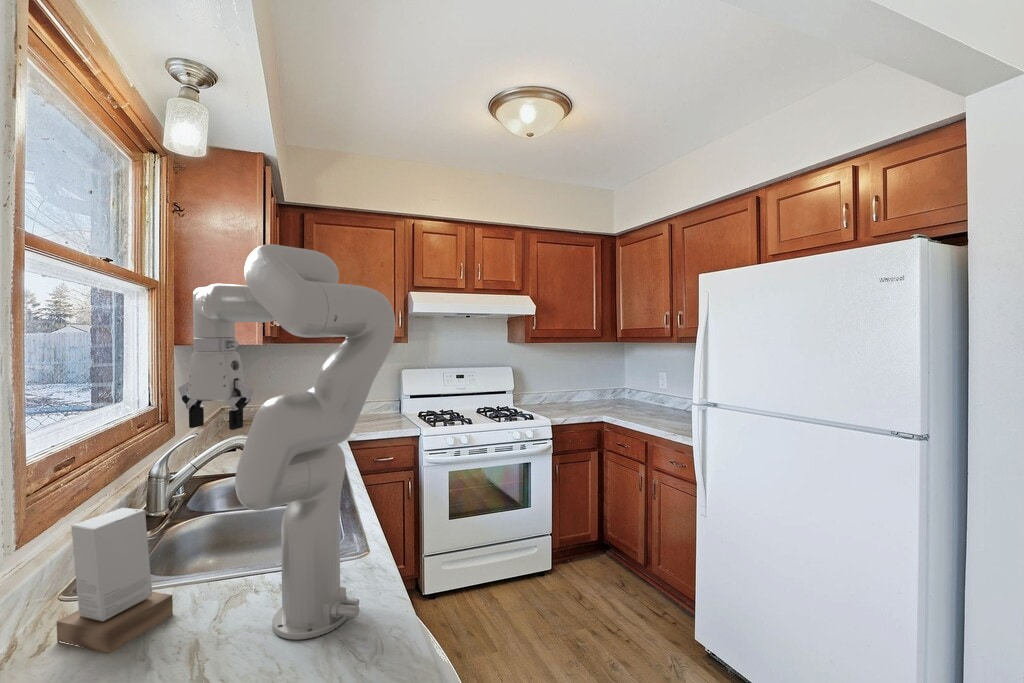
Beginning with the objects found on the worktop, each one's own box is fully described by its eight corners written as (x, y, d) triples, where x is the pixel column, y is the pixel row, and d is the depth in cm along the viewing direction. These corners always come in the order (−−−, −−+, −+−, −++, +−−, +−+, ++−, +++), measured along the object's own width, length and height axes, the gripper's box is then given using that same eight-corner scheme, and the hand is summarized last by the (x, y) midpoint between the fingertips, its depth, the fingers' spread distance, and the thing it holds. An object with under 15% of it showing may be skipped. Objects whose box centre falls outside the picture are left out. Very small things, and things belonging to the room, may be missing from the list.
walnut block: (172, 617, 88) (172, 594, 88) (108, 656, 78) (108, 631, 78) (125, 608, 91) (124, 587, 91) (57, 645, 80) (56, 621, 80)
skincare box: (130, 592, 89) (124, 506, 89) (155, 596, 87) (148, 508, 87) (75, 618, 81) (68, 524, 81) (101, 623, 79) (94, 526, 79)
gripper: (263, 346, 105) (264, 425, 106) (194, 345, 109) (195, 423, 109) (237, 347, 98) (238, 433, 98) (164, 346, 101) (165, 429, 102)
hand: (216, 427), depth 104 cm, fingers open, 9 cm apart
